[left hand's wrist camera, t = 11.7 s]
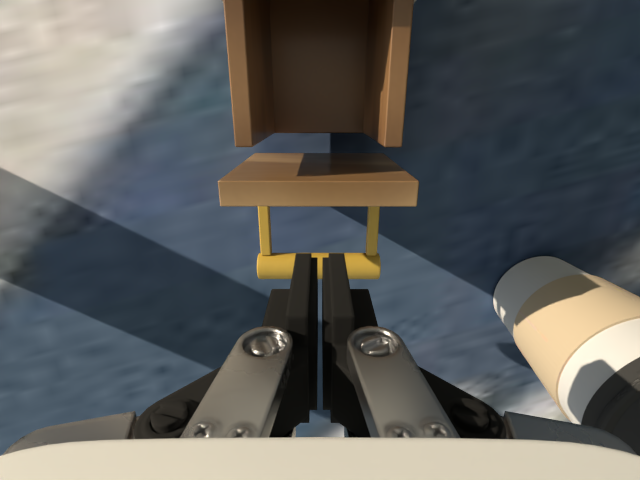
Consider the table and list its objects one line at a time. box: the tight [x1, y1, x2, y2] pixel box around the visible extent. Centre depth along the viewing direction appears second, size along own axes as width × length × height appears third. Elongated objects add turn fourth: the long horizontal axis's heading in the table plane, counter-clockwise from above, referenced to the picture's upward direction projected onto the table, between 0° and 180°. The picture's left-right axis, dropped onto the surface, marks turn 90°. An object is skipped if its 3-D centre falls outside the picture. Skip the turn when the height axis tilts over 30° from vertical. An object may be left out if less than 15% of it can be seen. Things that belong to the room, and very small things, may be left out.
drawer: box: [218, 0, 419, 279], centre depth 19 cm, size 22×9×10 cm, turn 0°
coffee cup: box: [493, 256, 640, 456], centre depth 23 cm, size 9×9×15 cm
